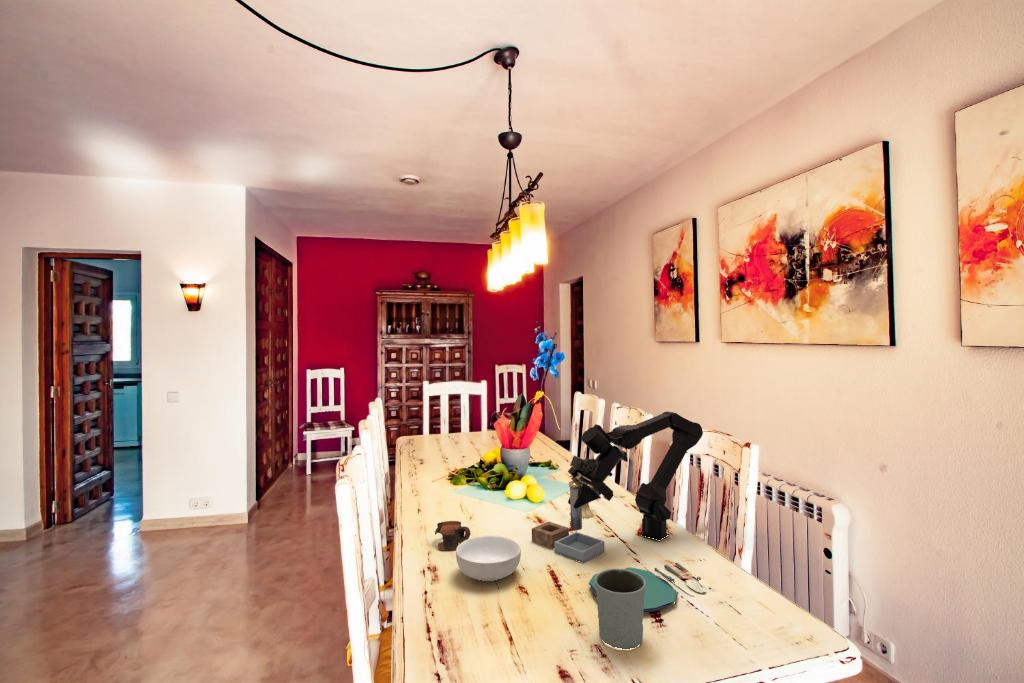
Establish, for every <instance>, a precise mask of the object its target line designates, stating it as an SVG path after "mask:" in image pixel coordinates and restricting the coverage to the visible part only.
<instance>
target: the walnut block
mask: <svg viewBox="0 0 1024 683" xmlns="http://www.w3.org/2000/svg"><path fill="white" fill-rule="evenodd" d="M568 535H570V528H569V527H567V526H564V525H562V524H558V523H555V522H552V521H547V522H544V523H542V524H539V525H536V526H534V527H532V528H531V543H534V544H537V545H540V546H542V545H543V546H542V547H545V548H547V547H548V549H550V550H554V549H553V548H554V542H555V541H558V540H560V539H562V538H564V537H566V536H568Z"/></svg>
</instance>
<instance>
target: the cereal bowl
mask: <svg viewBox="0 0 1024 683" xmlns="http://www.w3.org/2000/svg"><path fill="white" fill-rule="evenodd" d="M521 556H522V548H521V545H520V544H519V542H517V541H516V540H513V539H511V538H508V537H507V536H506V537H504V536H501V535H480V536H474V537H471V538H470V537H469V539H468V540H465V541H464V542H462V543H461V544H460V543H459V544H458V547H457V549H456V550H455V558H456V563H457V566H458V568H459V569H460V571H461V572H462V573H463V574H464V575H465V576H467V577H469V578H471V579H474V580H477V581H480V580H482V581H481V582H484V581H492V582H495V581H494V580H496V581H498V579H499V580H501V579H504V578H506V577H508V576H510V575H511V574H513V573H514V572H515V571H516V569H517V568H518V566H519V564H520V562H521V561H520V560H521Z"/></svg>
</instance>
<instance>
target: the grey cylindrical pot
mask: <svg viewBox="0 0 1024 683" xmlns="http://www.w3.org/2000/svg"><path fill="white" fill-rule="evenodd" d="M596 574H597V573H596ZM645 586H646V583H645V580H644V578H643V577H642V576H641V575H639V574H637V573H635V572H633V571H630V570H626V569H625V568H608V569H604V570H601V571H600V572H599V573H598V574H597V575H596V577H595V587H596V594H597V597H596V601H597V607H596V608H597V617H598V631H599V632H598V633H599V638H600V637H601V638H600V640H601V639H602V640H603V641H604V642H605V643H607V644H609V645H611V646H613V647H617V648H622V649H630V648H635V647H637V646H638V645H639V644H641V645H642V643H643V639H644V638H643V636H644V624H643V622H644V613H643V610H644V598H645ZM641 642H642V643H641Z"/></svg>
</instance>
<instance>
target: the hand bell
mask: <svg viewBox="0 0 1024 683" xmlns="http://www.w3.org/2000/svg"><path fill="white" fill-rule="evenodd" d="M569 515H570V516H571V511H570V513H569ZM594 516H595V514H594V512H593V511H592V509H591V508H590V502H589V503H587V504H585V505H583V506H582V518H583V519H582V520H585V519H584V518H587V519H590V517H591V518H593V517H594Z"/></svg>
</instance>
